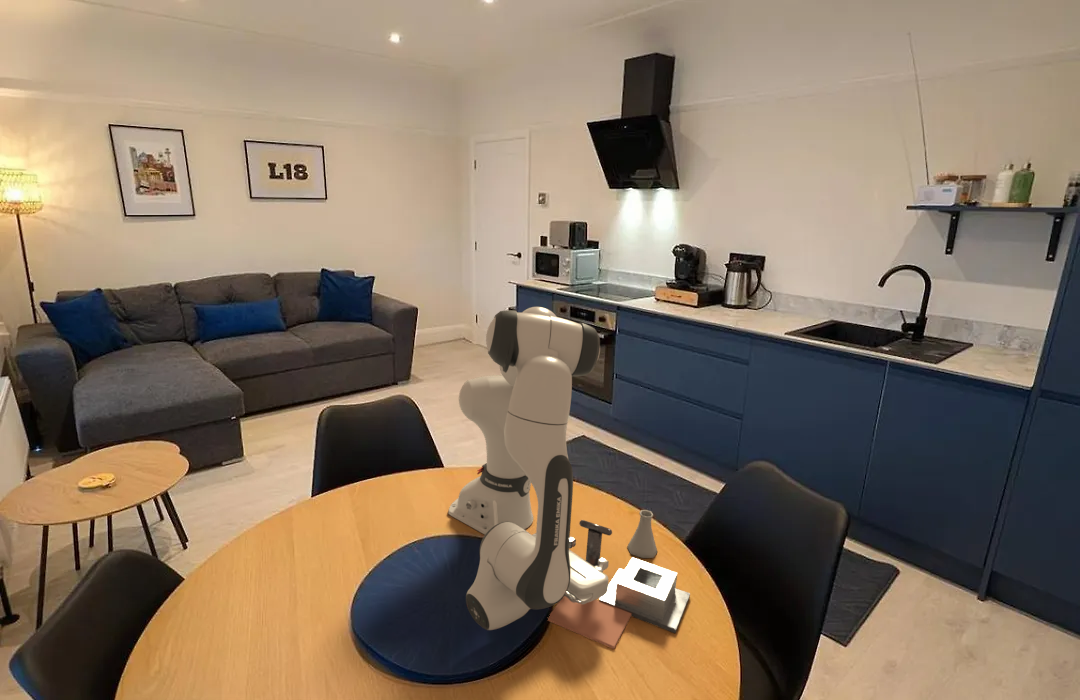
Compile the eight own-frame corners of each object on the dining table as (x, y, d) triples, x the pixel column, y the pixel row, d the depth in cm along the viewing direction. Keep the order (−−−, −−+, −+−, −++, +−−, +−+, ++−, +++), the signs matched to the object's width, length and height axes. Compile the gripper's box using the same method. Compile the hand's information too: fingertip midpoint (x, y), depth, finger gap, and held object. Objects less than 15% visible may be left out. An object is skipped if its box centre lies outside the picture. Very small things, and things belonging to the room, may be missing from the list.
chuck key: (572, 581, 120) (577, 522, 116) (578, 573, 123) (582, 516, 119) (603, 593, 117) (609, 533, 113) (608, 585, 119) (614, 526, 116)
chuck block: (599, 603, 114) (601, 580, 112) (618, 571, 124) (621, 550, 123) (675, 633, 107) (678, 609, 105) (689, 597, 117) (692, 575, 116)
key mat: (547, 620, 108) (547, 617, 108) (568, 591, 117) (568, 588, 117) (613, 649, 102) (614, 646, 102) (631, 616, 110) (631, 613, 110)
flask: (657, 561, 128) (662, 524, 126) (626, 556, 130) (630, 519, 127) (657, 544, 135) (661, 508, 133) (627, 539, 137) (631, 503, 134)
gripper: (580, 591, 100) (628, 562, 109) (510, 539, 114) (557, 517, 123) (577, 621, 101) (625, 589, 110) (508, 565, 116) (556, 541, 125)
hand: (589, 551), depth 117 cm, fingers open, 8 cm apart
